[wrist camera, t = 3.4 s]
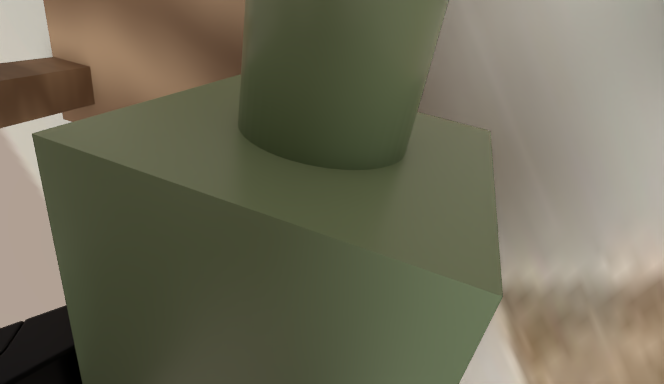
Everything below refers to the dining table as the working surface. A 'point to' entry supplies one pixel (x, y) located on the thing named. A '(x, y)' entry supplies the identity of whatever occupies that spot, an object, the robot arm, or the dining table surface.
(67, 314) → the robot arm
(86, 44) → the cradle
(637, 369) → the dining table surface
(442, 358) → the bottle
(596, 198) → the dining table surface
